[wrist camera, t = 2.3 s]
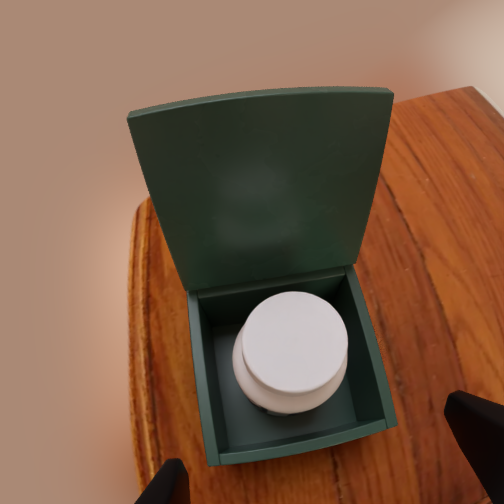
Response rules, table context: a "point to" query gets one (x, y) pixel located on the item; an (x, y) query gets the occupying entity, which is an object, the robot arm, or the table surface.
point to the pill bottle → (290, 353)
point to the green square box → (284, 427)
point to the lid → (263, 179)
